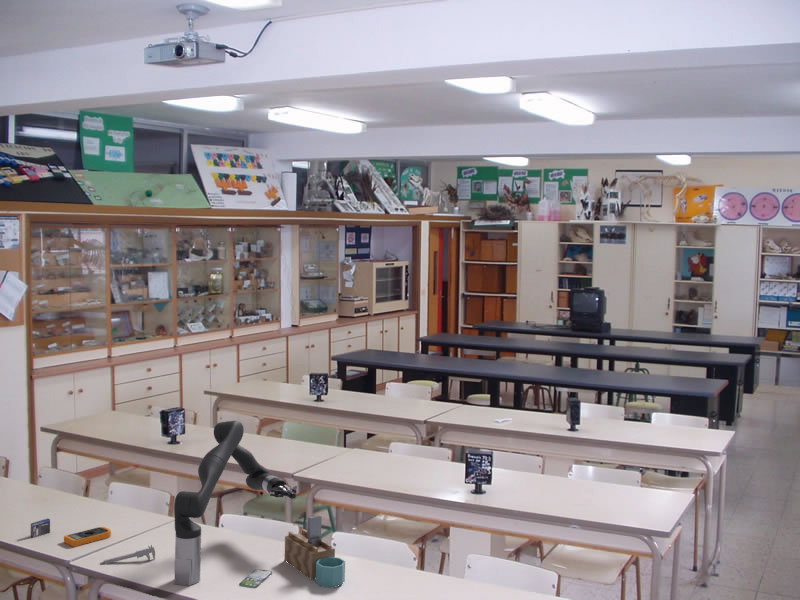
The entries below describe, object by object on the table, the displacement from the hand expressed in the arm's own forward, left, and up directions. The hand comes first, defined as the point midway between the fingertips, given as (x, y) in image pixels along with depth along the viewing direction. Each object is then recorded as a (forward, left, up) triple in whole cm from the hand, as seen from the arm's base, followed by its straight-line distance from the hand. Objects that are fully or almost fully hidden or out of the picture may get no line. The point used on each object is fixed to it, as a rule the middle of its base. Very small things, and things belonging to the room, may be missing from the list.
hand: (293, 496), depth 324 cm
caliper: (-21, +60, -25) cm, 69 cm away
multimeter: (-3, +88, -25) cm, 92 cm away
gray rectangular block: (-13, -13, -15) cm, 23 cm away
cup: (-21, -21, -25) cm, 39 cm away
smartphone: (-26, +6, -25) cm, 37 cm away
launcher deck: (-10, -10, -25) cm, 28 cm away
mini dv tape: (-3, +110, -25) cm, 113 cm away
